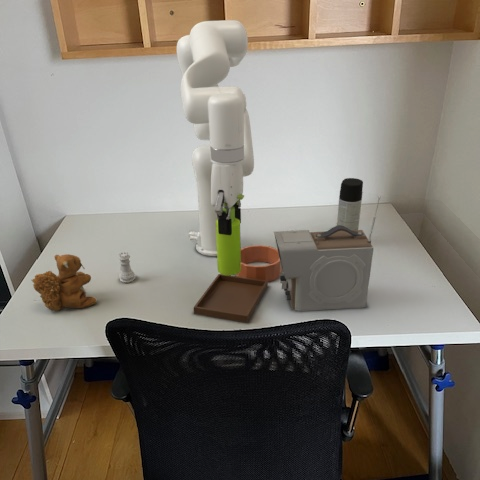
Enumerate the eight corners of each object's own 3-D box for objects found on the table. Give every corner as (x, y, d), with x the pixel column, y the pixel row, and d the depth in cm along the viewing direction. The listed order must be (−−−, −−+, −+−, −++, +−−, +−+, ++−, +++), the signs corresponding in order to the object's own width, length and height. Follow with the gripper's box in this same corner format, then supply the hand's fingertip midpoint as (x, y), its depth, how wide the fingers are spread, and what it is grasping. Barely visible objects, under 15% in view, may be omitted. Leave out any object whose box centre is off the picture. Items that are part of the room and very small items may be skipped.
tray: (194, 313, 136) (193, 307, 134) (219, 279, 150) (218, 273, 149) (247, 322, 132) (247, 316, 130) (267, 287, 146) (267, 280, 145)
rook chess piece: (122, 284, 149) (118, 259, 144) (117, 278, 152) (113, 252, 147) (137, 280, 150) (133, 255, 146) (132, 274, 154) (128, 249, 149)
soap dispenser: (242, 276, 133) (241, 199, 122) (215, 274, 134) (211, 197, 123) (246, 265, 138) (246, 190, 127) (220, 263, 139) (217, 189, 128)
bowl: (228, 279, 150) (228, 263, 147) (243, 258, 161) (243, 242, 158) (274, 285, 146) (275, 269, 144) (286, 263, 157) (287, 248, 154)
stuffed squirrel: (100, 303, 141) (91, 258, 133) (46, 320, 134) (34, 274, 127) (87, 287, 148) (78, 244, 140) (35, 303, 141) (23, 258, 134)
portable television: (272, 291, 144) (274, 182, 127) (359, 286, 145) (372, 178, 129) (278, 315, 134) (281, 201, 117) (371, 310, 135) (387, 196, 119)
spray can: (359, 241, 169) (366, 179, 158) (353, 249, 164) (360, 186, 153) (338, 237, 171) (344, 176, 160) (332, 246, 166) (337, 183, 155)
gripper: (224, 142, 127) (227, 213, 137) (197, 164, 114) (202, 241, 124) (254, 144, 125) (255, 216, 135) (230, 166, 112) (232, 245, 122)
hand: (229, 227), depth 129 cm, fingers closed on soap dispenser, 5 cm apart
